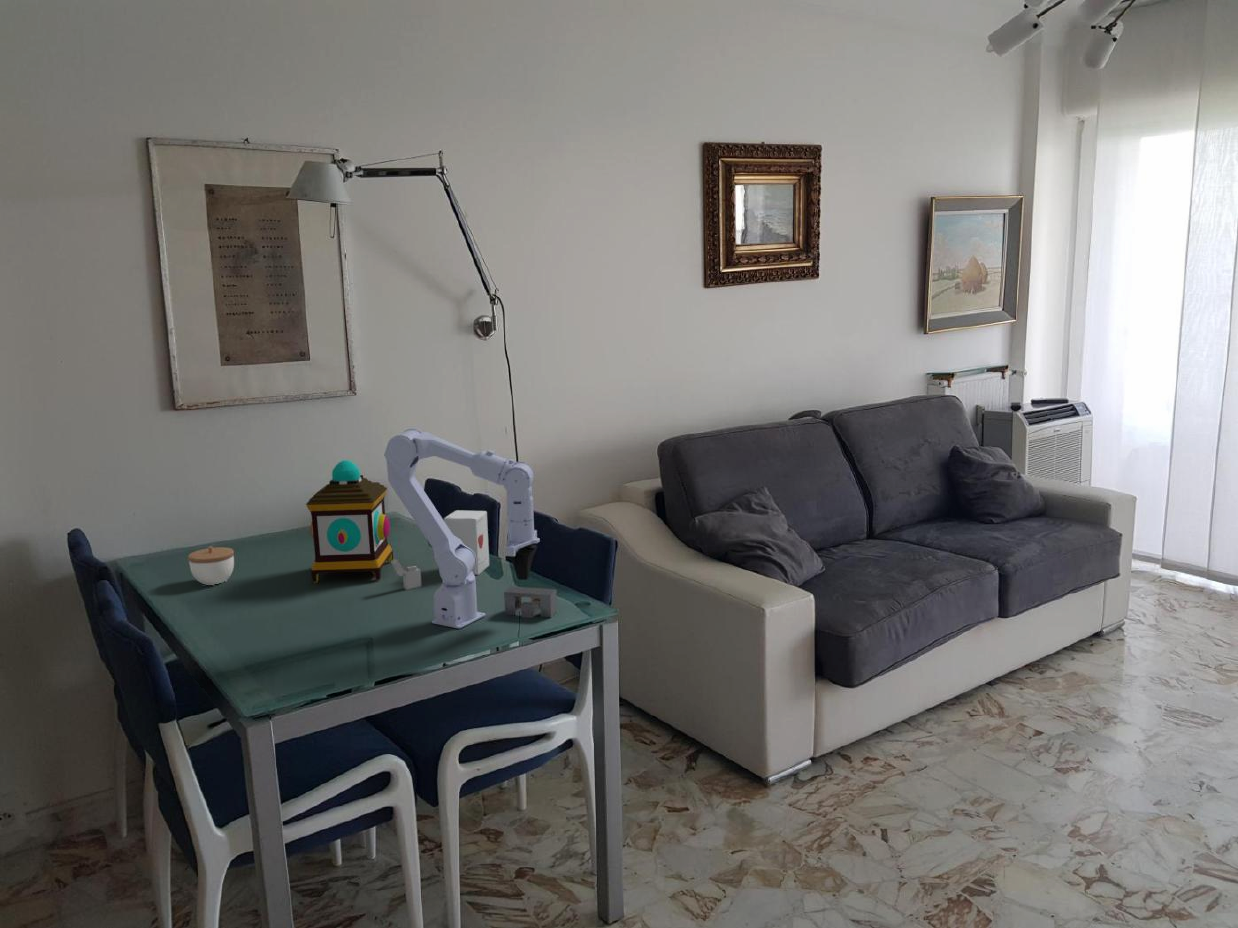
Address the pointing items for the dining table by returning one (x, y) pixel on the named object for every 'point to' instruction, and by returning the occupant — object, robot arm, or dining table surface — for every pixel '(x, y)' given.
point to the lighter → (408, 575)
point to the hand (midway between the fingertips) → (523, 578)
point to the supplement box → (471, 534)
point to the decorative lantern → (349, 524)
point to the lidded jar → (212, 564)
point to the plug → (530, 607)
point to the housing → (515, 593)
